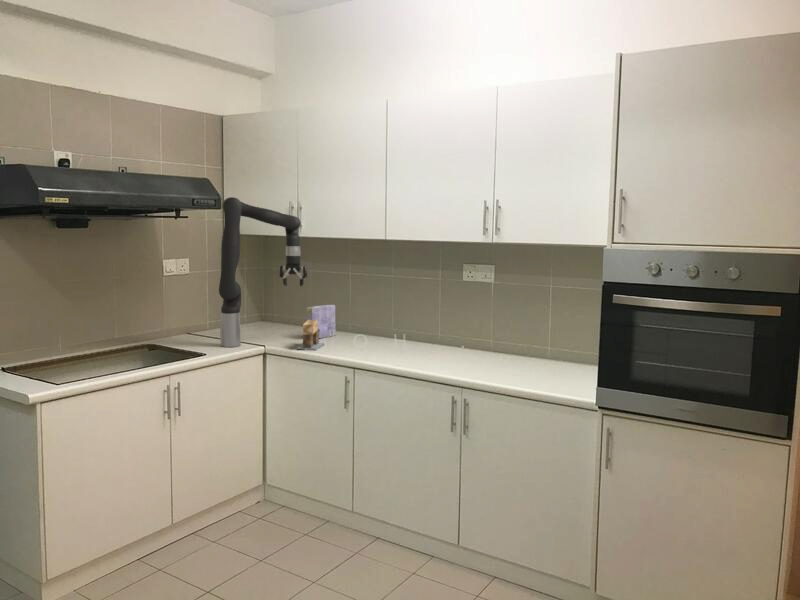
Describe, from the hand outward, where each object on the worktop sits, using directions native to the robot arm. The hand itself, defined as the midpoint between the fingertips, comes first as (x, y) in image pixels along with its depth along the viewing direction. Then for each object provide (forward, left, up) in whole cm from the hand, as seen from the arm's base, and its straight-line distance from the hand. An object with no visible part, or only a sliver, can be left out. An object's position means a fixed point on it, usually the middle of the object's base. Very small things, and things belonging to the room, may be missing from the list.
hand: (293, 285), depth 338 cm
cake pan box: (+10, +17, -30) cm, 36 cm away
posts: (+13, -11, -30) cm, 34 cm away
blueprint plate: (+13, -11, -30) cm, 34 cm away
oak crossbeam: (+13, -11, -22) cm, 28 cm away
